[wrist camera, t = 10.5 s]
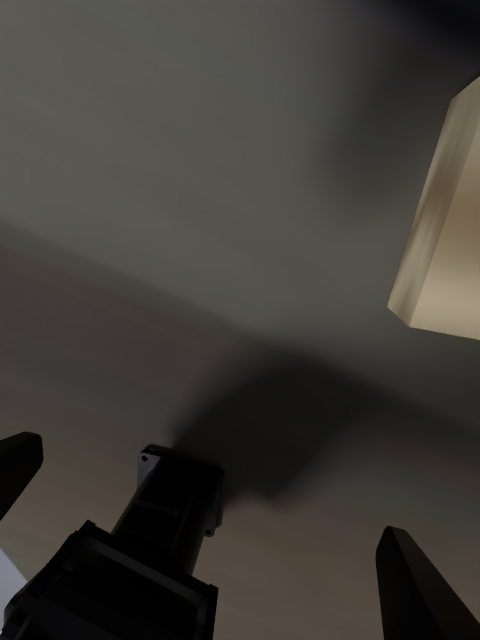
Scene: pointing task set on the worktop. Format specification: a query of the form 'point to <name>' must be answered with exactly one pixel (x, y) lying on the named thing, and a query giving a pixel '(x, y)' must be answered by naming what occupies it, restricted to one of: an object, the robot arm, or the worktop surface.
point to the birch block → (446, 232)
